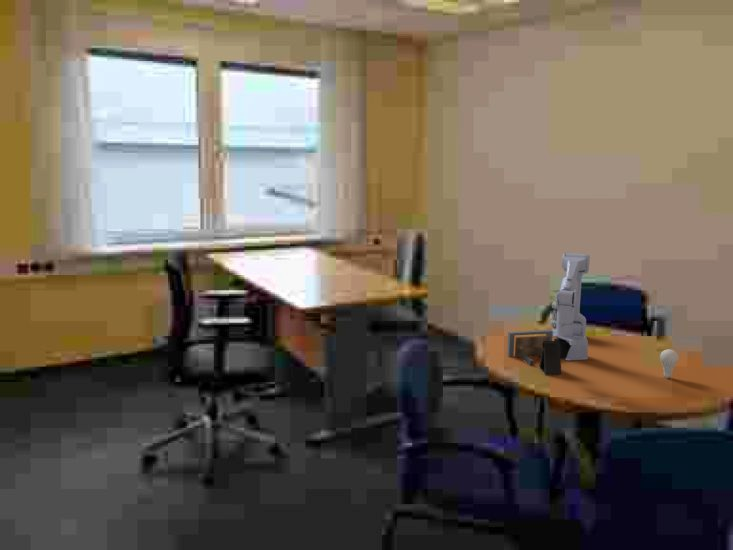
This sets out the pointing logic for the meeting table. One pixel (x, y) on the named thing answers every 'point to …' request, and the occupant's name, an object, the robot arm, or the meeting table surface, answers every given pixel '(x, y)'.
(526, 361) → the keeper
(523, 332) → the grey picture frame
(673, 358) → the lightbulb
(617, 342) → the meeting table surface
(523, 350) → the door
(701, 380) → the meeting table surface
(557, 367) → the phone stand
